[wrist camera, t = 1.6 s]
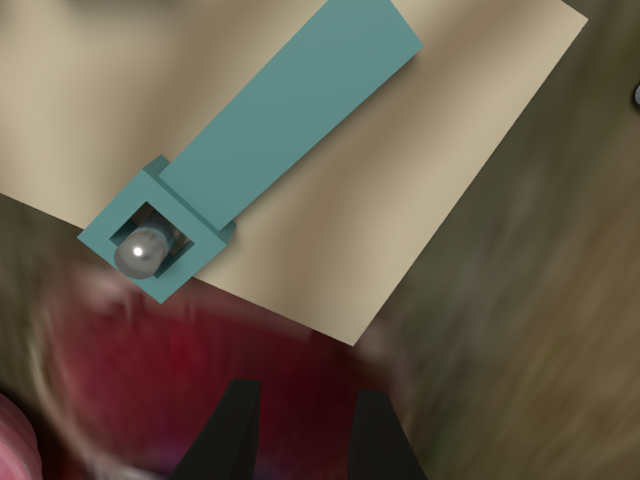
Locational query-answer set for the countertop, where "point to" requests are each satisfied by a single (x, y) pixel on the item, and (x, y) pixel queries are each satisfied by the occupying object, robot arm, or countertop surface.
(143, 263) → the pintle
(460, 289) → the countertop surface
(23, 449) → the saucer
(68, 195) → the base board
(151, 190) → the link
